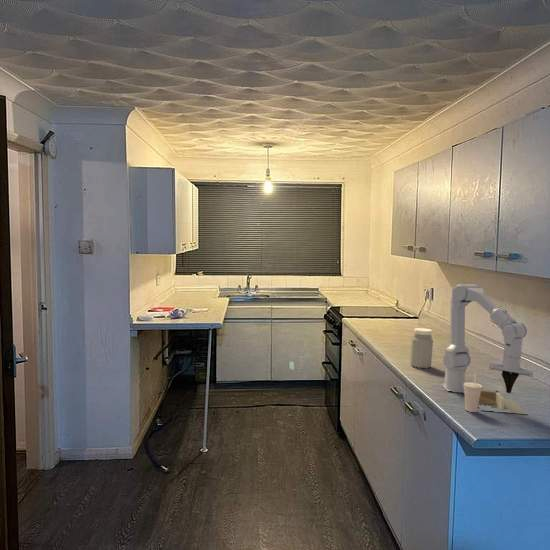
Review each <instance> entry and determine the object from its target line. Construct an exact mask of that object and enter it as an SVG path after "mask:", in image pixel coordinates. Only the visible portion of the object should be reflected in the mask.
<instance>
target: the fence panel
mask: <svg viewBox="0 0 550 550" xmlns="http://www.w3.org/2000/svg"><path fill="white" fill-rule="evenodd" d="M504 399H505V398H503V396H502V395H501V394H500V392H498V393H497V392H496V400H495V403H496V404H497V406H498V407H499V408H500V410H503V407H504Z"/></svg>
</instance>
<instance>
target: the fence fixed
mask: <svg viewBox="0 0 550 550" xmlns="http://www.w3.org/2000/svg"><path fill="white" fill-rule="evenodd" d="M496 392H497V393H499V390H495V391H487V390H481V394H480V398H479V402H489V403H494V399H495V400H496Z"/></svg>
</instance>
